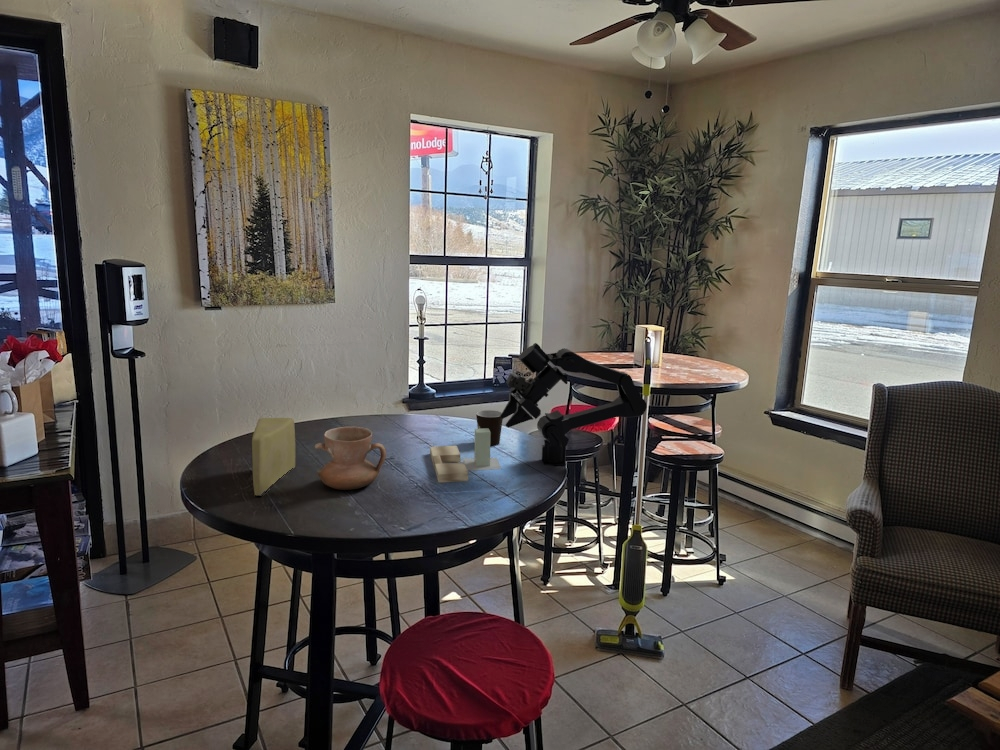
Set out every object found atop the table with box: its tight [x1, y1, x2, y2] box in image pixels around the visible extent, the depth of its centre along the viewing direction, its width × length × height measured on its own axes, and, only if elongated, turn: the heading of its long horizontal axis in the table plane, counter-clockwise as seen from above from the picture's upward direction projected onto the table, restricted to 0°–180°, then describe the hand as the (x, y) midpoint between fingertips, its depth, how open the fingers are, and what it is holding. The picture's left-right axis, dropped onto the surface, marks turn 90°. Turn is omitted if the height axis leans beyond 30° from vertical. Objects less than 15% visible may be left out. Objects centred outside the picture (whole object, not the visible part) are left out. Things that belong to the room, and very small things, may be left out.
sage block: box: [473, 428, 491, 466], centre depth 185 cm, size 4×4×10 cm
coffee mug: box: [475, 409, 504, 447], centre depth 206 cm, size 12×9×10 cm
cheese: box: [251, 417, 296, 496], centre depth 168 cm, size 22×10×15 cm, turn 6°
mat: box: [462, 457, 503, 472], centre depth 186 cm, size 10×10×1 cm
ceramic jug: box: [314, 425, 387, 491], centre depth 167 cm, size 18×14×14 cm
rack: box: [429, 445, 469, 483], centre depth 183 cm, size 8×24×2 cm, turn 11°
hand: (503, 421), depth 184 cm, fingers open, 9 cm apart
